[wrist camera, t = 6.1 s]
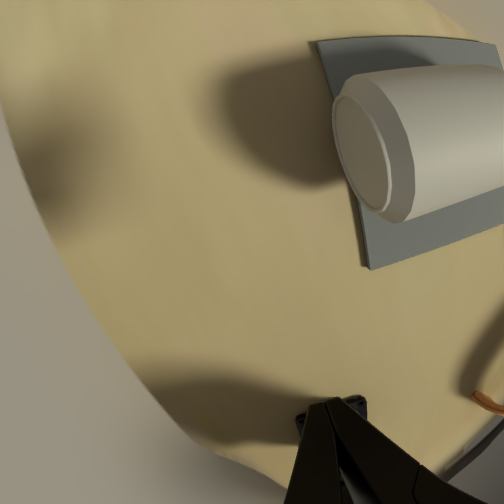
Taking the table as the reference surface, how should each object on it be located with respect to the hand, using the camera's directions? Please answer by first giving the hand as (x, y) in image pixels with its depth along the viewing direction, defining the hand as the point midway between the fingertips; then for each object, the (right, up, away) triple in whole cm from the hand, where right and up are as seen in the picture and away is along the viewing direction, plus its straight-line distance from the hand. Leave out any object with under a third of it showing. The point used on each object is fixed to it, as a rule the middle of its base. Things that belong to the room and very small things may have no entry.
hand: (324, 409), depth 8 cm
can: (+3, +9, +6) cm, 11 cm away
